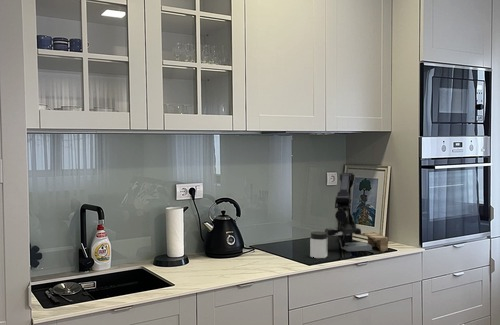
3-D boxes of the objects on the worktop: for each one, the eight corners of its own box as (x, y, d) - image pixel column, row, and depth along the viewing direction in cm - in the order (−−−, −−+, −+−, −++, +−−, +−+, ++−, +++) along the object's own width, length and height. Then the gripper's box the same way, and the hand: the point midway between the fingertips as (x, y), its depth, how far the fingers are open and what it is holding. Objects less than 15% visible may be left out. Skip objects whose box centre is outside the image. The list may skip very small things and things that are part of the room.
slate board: (340, 248, 272) (340, 243, 272) (364, 247, 276) (364, 242, 275) (347, 252, 264) (347, 246, 264) (372, 250, 267) (372, 245, 267)
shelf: (362, 245, 279) (362, 232, 278) (374, 244, 280) (374, 232, 280) (375, 251, 263) (375, 238, 263) (387, 250, 265) (387, 237, 264)
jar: (331, 256, 251) (331, 233, 251) (319, 259, 246) (320, 235, 246) (317, 253, 258) (317, 230, 258) (306, 256, 253) (306, 232, 253)
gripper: (332, 221, 257) (331, 251, 258) (365, 220, 261) (365, 249, 262) (324, 218, 268) (324, 246, 269) (356, 217, 272) (356, 245, 273)
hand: (342, 247), depth 268 cm, fingers closed
